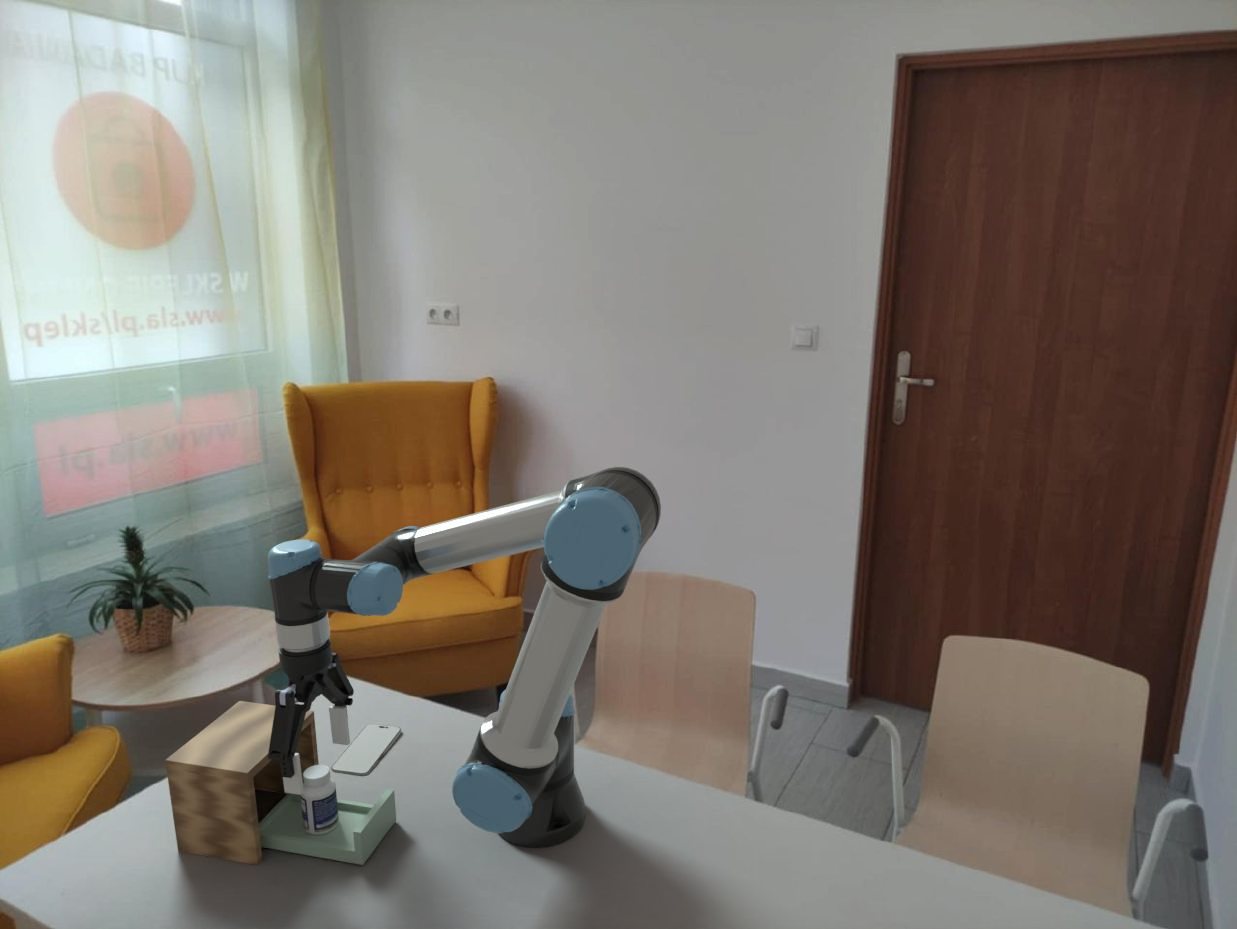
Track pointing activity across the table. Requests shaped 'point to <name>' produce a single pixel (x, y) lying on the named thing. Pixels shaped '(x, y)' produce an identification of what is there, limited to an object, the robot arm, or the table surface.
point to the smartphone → (366, 749)
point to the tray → (344, 843)
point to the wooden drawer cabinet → (229, 781)
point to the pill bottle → (319, 801)
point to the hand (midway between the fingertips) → (318, 766)
